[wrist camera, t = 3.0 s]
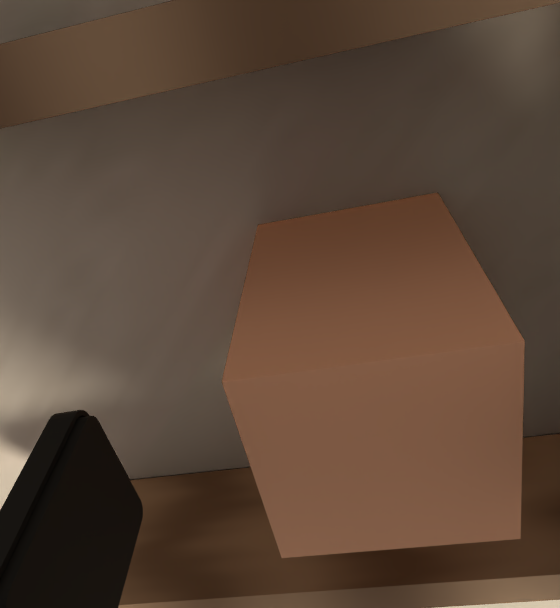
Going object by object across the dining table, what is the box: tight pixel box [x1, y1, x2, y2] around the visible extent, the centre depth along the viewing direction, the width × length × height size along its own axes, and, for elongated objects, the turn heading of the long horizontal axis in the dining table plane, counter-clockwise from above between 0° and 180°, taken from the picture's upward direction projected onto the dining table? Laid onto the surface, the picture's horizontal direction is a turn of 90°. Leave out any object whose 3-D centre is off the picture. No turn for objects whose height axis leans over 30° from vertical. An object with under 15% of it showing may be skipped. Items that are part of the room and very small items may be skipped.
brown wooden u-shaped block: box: [0, 0, 560, 608], centre depth 14 cm, size 21×16×5 cm
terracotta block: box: [222, 193, 525, 558], centre depth 13 cm, size 5×5×7 cm
